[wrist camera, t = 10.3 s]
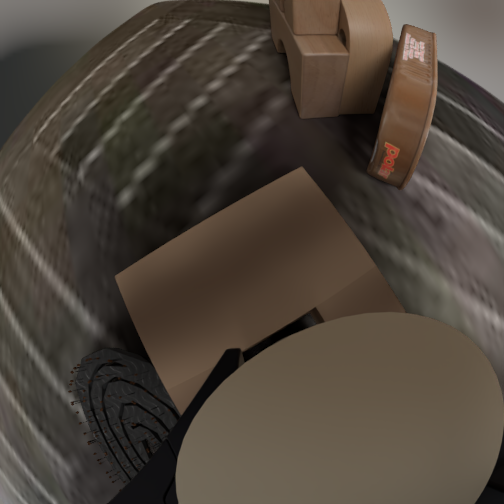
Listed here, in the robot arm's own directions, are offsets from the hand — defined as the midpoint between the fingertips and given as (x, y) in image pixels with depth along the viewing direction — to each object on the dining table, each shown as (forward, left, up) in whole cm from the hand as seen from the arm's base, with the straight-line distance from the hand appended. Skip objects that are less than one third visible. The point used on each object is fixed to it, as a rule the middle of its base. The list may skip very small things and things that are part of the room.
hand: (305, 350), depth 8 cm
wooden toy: (+19, -15, -8) cm, 26 cm away
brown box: (-1, +1, -8) cm, 8 cm away
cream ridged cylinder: (-1, +1, -7) cm, 7 cm away
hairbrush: (-7, +12, -9) cm, 16 cm away
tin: (+9, -15, -8) cm, 20 cm away
